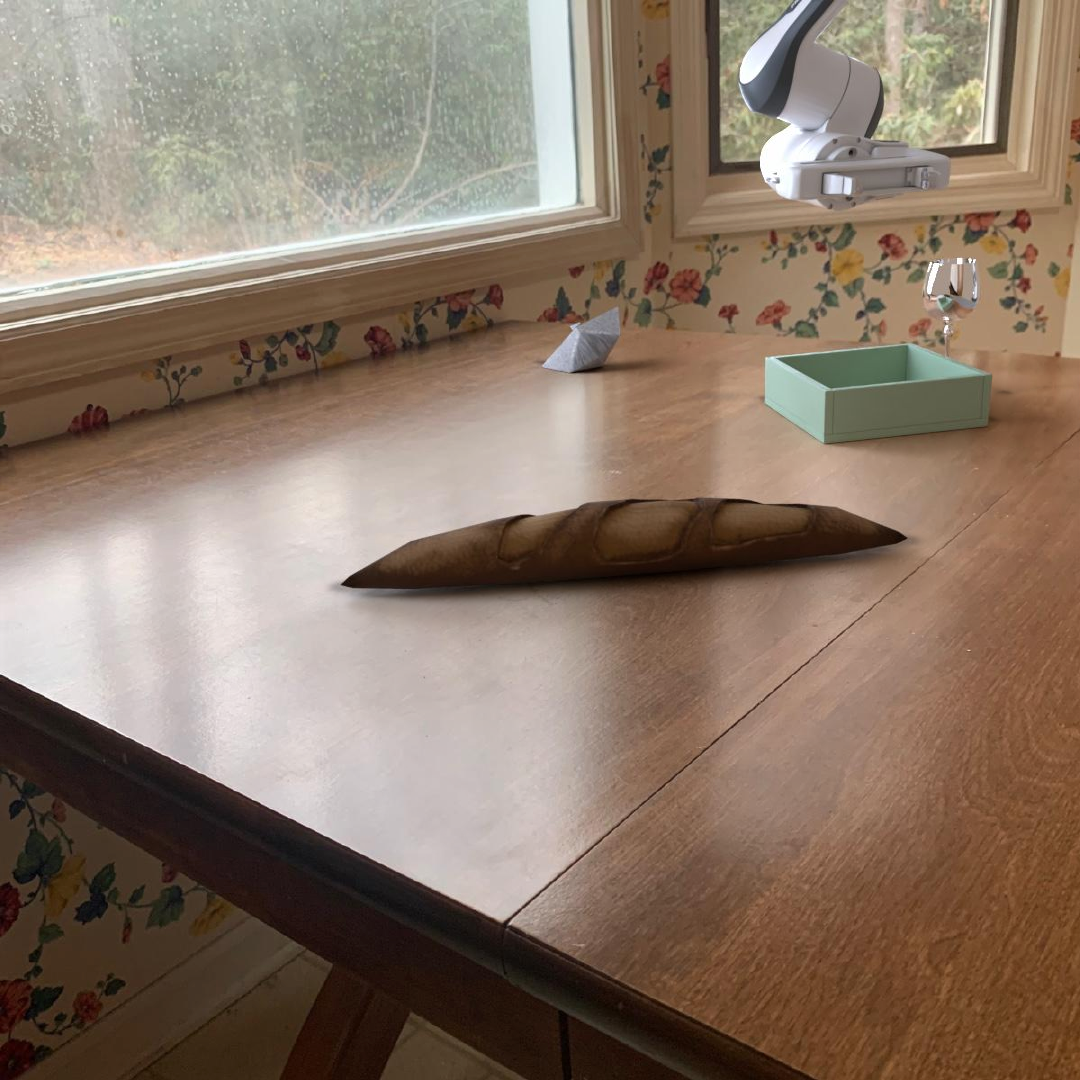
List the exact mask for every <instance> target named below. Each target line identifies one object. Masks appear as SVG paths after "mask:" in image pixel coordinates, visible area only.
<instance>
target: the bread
mask: <svg viewBox="0 0 1080 1080" xmlns="http://www.w3.org/2000/svg"><path fill="white" fill-rule="evenodd" d="M908 539H909V538H908V536H907V535H905V534H903V533H901V532H900V531H898V530H896V529H894V528H891V527H889V526H887V525H883V524H881V523H879V522H876V521H874V520H870V519H868V518H866V517H863V516H861V515H858V514H855V513H853V512H850V511H848V510H845V509H842V508H840V507H838V506H832V505H831V506H830V505H820V504H819V505H818V504H809V503H762V502H758V501H755V500H751V499H744V498H730V497H729V498H728V497H727V498H726V497H701V496H699V497H698V496H697V497H695V498H694V497H693V498H683V499H672V500H670V499H663V498H662V499H659V498H658V499H656V498H655V499H651V498H649V499H648V498H647V499H646V498H643V499H641V498H626V499H625V498H624V499H614V500H613V499H612V500H602V501H601V500H600V501H590V502H589V501H588V502H584V503H582V504H580V505H579V506H578V507H576V508H571V509H565V510H559V511H555V512H550V513H544V514H540V515H536V514H529V513H525V514H524V513H523V514H517V515H511V516H507V517H506V516H505V517H501V518H496V519H491V520H487V521H485V522H484V521H483V522H480V523H476V524H471V525H468V526H464V527H460V528H457V529H452V530H448V531H444V532H440V533H437V534H433V535H432V534H431V535H429V536H425V537H420V538H418V539H417V538H416V539H413V540H409V541H408V542H406V543H405V544H402V545H401V546H399V547H397V548H396V549H394V550H392V551H390V552H389V553H387V554H385V555H383V556H381V557H380V558H378V559H376V560H374V561H372V562H371V563H370V564H368V565H366V566H364V567H363V568H361V569H359V570H357V571H356V572H353V573H351V574H350V575H349V576H348V577H347V578H345V580H343V582H341V583H340V586H342V587H346V588H349V589H369V590H370V589H371V590H373V589H375V590H425V589H443V588H444V589H445V588H461V587H479V586H481V587H482V586H496V585H497V586H498V585H511V584H512V585H513V584H524V583H525V584H527V583H528V584H529V583H541V582H542V583H543V582H555V581H568V580H569V581H571V580H584V579H596V578H608V577H610V578H611V577H622V576H631V575H646V574H656V573H659V574H660V573H668V572H680V571H690V570H701V569H712V568H723V567H732V566H745V565H754V564H763V563H772V562H781V561H790V560H791V561H792V560H800V559H809V558H810V559H811V558H819V557H828V556H838V555H843V554H848V553H849V554H850V553H853V552H859V551H864V550H865V551H866V550H872V549H877V548H881V547H882V548H883V547H887V546H892V545H897V544H900V543H902V542H904V541H906V540H908Z"/></svg>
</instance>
